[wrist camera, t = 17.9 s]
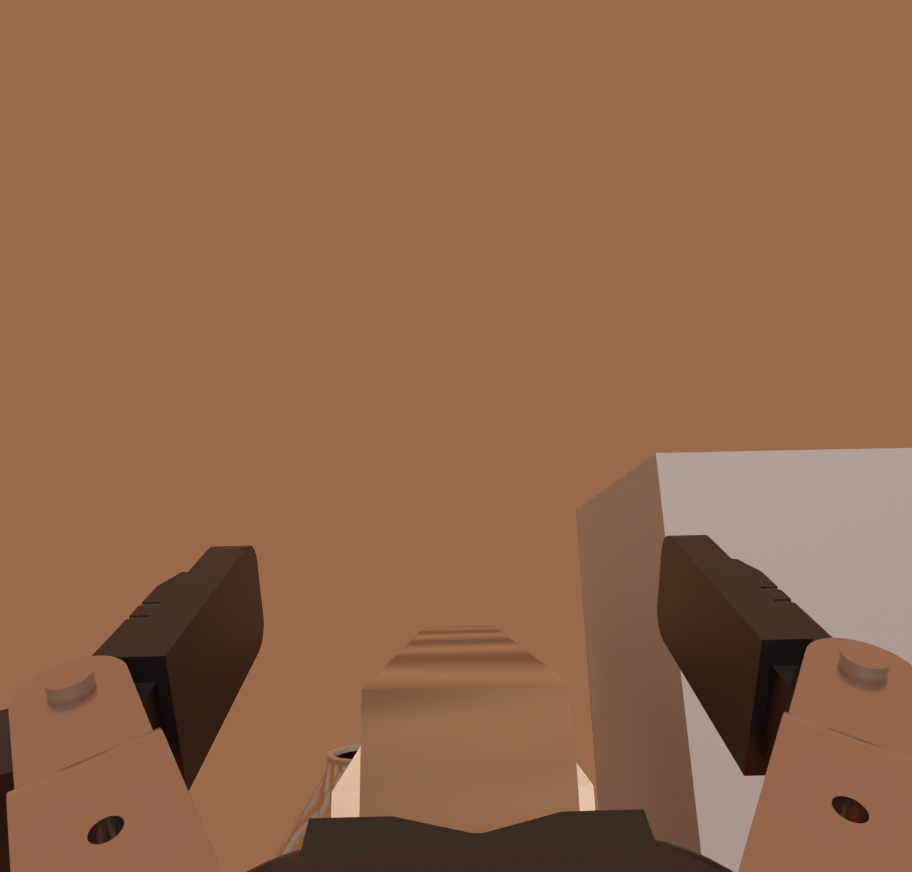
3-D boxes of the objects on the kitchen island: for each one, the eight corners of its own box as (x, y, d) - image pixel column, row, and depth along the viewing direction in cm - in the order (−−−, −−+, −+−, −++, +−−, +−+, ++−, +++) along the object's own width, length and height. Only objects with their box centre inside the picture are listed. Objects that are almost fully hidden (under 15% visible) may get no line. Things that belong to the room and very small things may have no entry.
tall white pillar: (622, 1128, 31) (576, 510, 39) (853, 1121, 31) (757, 506, 39) (793, 1670, 15) (656, 453, 24) (1257, 1652, 15) (955, 447, 24)
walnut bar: (425, 701, 33) (424, 627, 34) (496, 700, 33) (493, 625, 34) (357, 938, 10) (361, 689, 11) (587, 931, 10) (571, 684, 11)
